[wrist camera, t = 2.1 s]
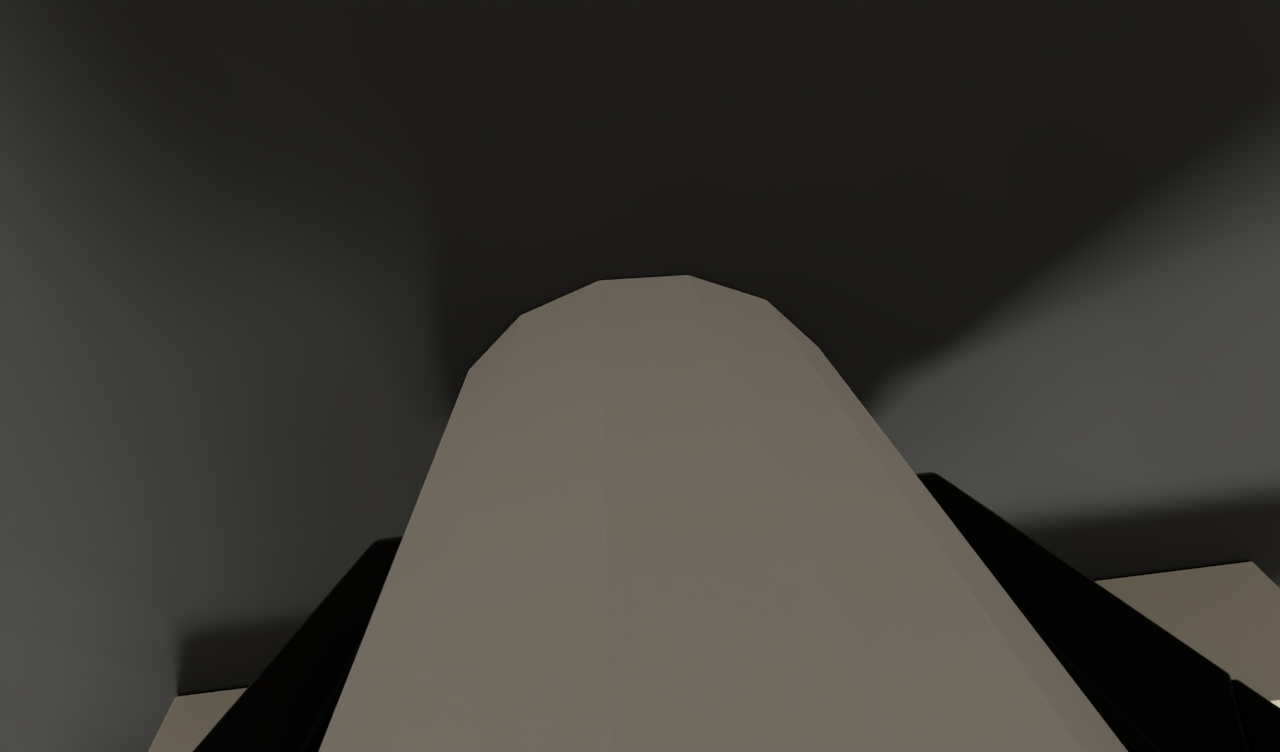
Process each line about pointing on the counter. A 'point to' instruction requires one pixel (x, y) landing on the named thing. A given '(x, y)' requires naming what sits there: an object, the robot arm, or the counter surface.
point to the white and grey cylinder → (688, 560)
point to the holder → (1176, 601)
